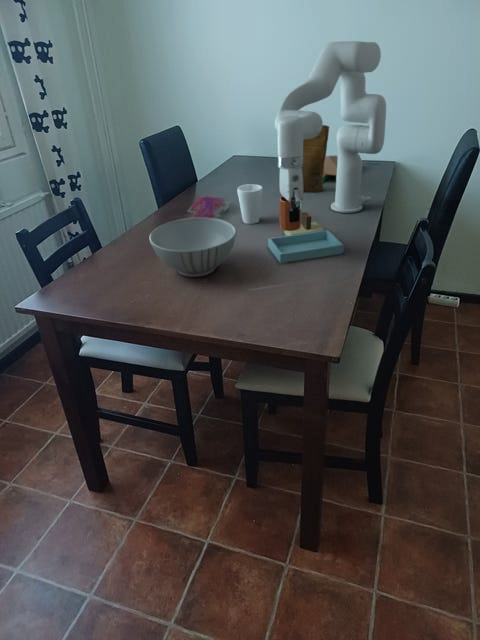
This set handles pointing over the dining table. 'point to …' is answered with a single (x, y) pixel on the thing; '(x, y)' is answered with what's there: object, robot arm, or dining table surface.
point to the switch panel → (314, 228)
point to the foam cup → (250, 202)
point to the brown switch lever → (306, 221)
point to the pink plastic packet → (211, 204)
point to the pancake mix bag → (314, 161)
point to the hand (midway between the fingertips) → (290, 217)
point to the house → (330, 166)
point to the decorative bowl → (194, 244)
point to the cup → (287, 215)
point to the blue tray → (305, 246)
